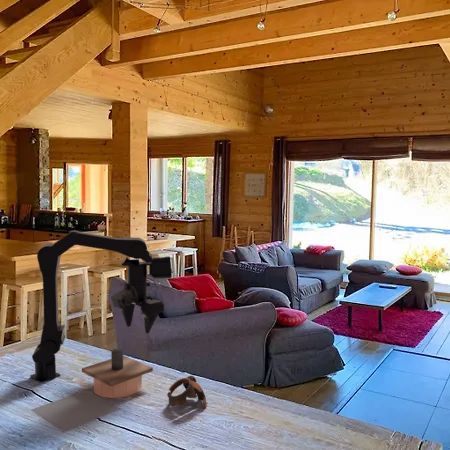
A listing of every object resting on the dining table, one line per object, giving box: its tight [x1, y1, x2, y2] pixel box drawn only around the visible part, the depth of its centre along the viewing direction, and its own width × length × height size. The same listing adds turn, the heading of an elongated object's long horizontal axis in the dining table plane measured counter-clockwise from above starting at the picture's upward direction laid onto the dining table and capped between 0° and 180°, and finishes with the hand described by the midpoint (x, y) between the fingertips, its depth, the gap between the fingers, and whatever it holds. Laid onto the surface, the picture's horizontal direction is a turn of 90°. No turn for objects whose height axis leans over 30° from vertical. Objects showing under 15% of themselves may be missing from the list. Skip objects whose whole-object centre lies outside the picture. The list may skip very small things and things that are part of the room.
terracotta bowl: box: [92, 375, 143, 399], centre depth 137 cm, size 13×13×5 cm
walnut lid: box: [81, 348, 154, 386], centre depth 136 cm, size 14×14×6 cm
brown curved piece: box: [166, 375, 208, 410], centre depth 128 cm, size 12×10×8 cm
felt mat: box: [31, 389, 122, 433], centre depth 124 cm, size 16×16×1 cm
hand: (137, 329), depth 148 cm, fingers open, 9 cm apart
